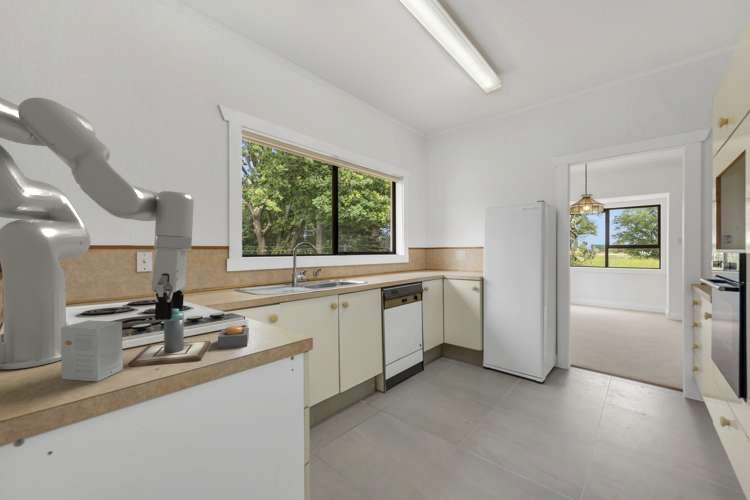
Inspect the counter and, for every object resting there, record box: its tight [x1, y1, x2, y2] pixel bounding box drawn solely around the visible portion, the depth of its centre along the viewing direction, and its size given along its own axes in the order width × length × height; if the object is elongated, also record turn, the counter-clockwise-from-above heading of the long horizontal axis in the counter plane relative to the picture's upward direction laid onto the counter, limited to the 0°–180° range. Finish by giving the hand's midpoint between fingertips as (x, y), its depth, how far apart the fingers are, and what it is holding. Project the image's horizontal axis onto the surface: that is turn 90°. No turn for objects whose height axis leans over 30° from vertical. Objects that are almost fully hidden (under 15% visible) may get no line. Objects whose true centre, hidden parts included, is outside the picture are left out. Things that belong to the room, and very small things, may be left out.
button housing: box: [217, 327, 250, 349], centre depth 85 cm, size 7×7×3 cm
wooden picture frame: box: [128, 340, 211, 367], centre depth 76 cm, size 14×12×1 cm
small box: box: [60, 320, 124, 383], centre depth 63 cm, size 8×6×10 cm
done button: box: [225, 325, 243, 335], centre depth 85 cm, size 4×4×2 cm
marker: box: [163, 309, 185, 353], centre depth 76 cm, size 4×4×10 cm
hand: (169, 314), depth 76 cm, fingers open, 9 cm apart
